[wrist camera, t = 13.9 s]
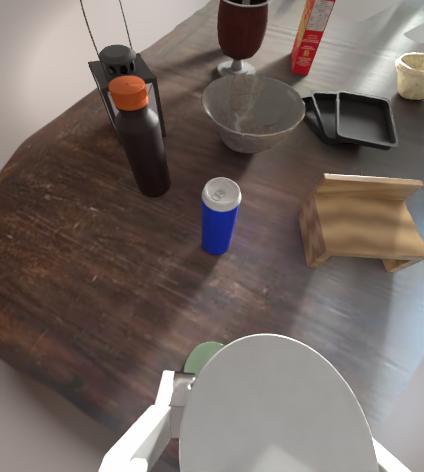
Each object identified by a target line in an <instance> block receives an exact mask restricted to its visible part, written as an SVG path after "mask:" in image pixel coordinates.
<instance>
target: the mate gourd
mask: <svg viewBox="0 0 424 472" xmlns="http://www.w3.org/2000/svg"><path fill="white" fill-rule="evenodd" d="M268 12H269V0H220V4H219V11H218V24H217V29H218V40H219V45H220V47H221V49H222V51H223V52H224V54H225V55H227V56H228V57H231V58H233V59H234V60H231V61H226V62H223V63H221V64H220V65H219V66H218V73H219V75H220V76H221V77H225V76H229V75H237V74H243V75H244V74H255V69H254V67H253V66H252V65H250V64H249V63H246V62H243V61H242V60H243V59H247V58H251V57H252V56H253V55H254V54H255V53H256V52H257V51H258V49H259V48H260V46H261V44H262V41H263V38H264V35H265V32H266V27H267V22H268Z"/></svg>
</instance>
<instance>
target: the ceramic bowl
mask: <svg viewBox="0 0 424 472" xmlns="http://www.w3.org/2000/svg"><path fill="white" fill-rule="evenodd" d="M201 103H202V106H203V108H204V110H205V112H206V114H207V115H208V117H209V119H210V120H211V122H212V124H213V125H214V127H215V129H216V130H217V132H218V134H219V136H220V137H221V139H222V140H223V142H224V143H225V144H226V145H227V146H228V147H230V148H231V149H232V150H234V151H237V152H243V153H256V152H260V151H263V150H265V149H268V148H271V146H273V145H274V144H276V143H277V142H279V141H280V140H282V139H283V138H284V137H286V136H287V135H288V134H289V133H290V132H292V131H293V130H294V129H295V128H296V127H297V126H298V124H299V123H300V122H301V121H302V120H303V118H304V116H305V111H306V109H305V104H304V102H303V100H302V98H301V97H300V96H299V94H298V93H297V92H296V91H295V90H294V89H293V88H292V87H290V86H289V85H287V84H285V83H284V82H282V81H279V80H276V79H273V78H270V77H267V76H262V75H257V74H244V75H243V74H237V75H229V76H225V77H221V78H219V79H217V80H214V81H212V82H211V83H210V84H209V85H208V86H207V87H206V88H205V89H204V91H203V93H202V96H201Z"/></svg>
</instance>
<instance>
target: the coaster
mask: <svg viewBox="0 0 424 472" xmlns="http://www.w3.org/2000/svg"><path fill="white" fill-rule="evenodd" d="M223 346H225V345H223V344H221V343H217V342H207V343H203V344H201V345H199V346H198V347H196V348H195V349H194V350H193V351H192V352H191V353H190V355H189V356H188V358H187V360H186V363H185V366H184V372H188V373H195V378H196V376H197V374H198V373H199V370H200V368H201V365H202V364H203V362H204V361H205V360H206V358H207V357H208V356H209V355H211V354H212V353H214V352H215V351H218V350H219V349H220V348H222V347H223Z"/></svg>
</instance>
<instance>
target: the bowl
mask: <svg viewBox="0 0 424 472" xmlns="http://www.w3.org/2000/svg"><path fill="white" fill-rule="evenodd" d="M395 67H396V71H397V73H398V92H399V94H400V95H401V96H402V97H404V98H406V99H417V100H421V99H424V53H410V54H405V55H403V56H401V57H400V58H399V59H397V60H396V62H395Z"/></svg>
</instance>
